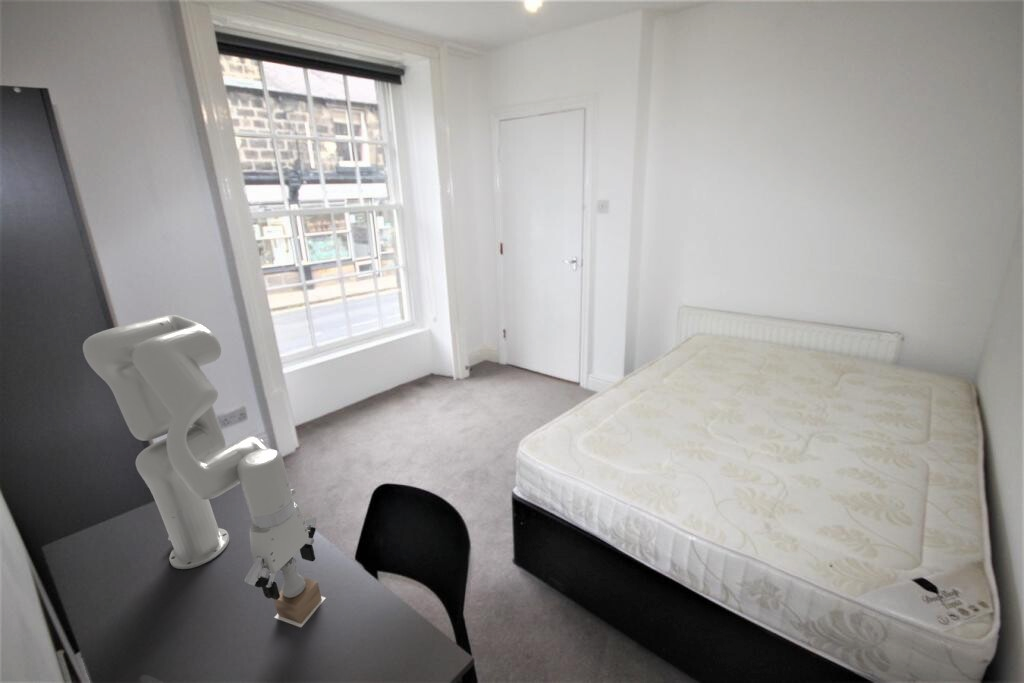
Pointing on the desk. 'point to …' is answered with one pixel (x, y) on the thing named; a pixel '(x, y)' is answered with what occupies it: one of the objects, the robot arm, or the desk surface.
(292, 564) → the rook chess piece
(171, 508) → the robot arm
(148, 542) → the desk surface
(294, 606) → the walnut block
